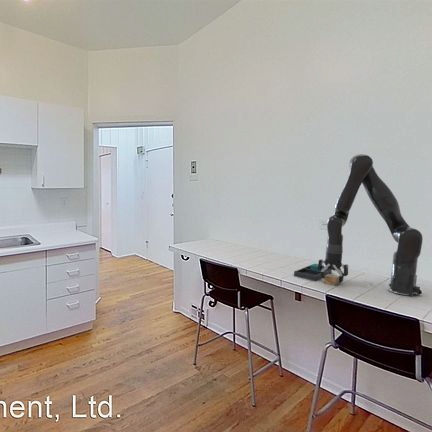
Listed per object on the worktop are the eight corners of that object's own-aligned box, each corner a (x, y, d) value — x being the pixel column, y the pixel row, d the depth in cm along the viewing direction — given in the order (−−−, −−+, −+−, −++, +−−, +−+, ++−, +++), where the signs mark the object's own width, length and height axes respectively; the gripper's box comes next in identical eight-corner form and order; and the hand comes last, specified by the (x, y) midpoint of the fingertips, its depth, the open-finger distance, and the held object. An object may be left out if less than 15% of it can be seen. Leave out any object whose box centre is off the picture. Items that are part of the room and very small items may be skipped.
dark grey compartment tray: (331, 273, 182) (331, 268, 181) (314, 280, 168) (314, 276, 168) (311, 268, 191) (311, 264, 191) (293, 275, 178) (294, 271, 177)
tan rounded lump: (339, 283, 165) (340, 276, 164) (335, 285, 161) (335, 278, 161) (328, 280, 169) (329, 273, 168) (324, 282, 166) (324, 275, 165)
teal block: (323, 271, 182) (324, 265, 182) (319, 273, 179) (320, 267, 178) (314, 269, 187) (314, 263, 186) (310, 271, 183) (310, 265, 183)
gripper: (317, 250, 166) (314, 278, 168) (346, 255, 155) (343, 285, 157) (322, 248, 171) (320, 275, 173) (351, 253, 159) (349, 282, 162)
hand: (331, 280), depth 165 cm, fingers open, 8 cm apart
